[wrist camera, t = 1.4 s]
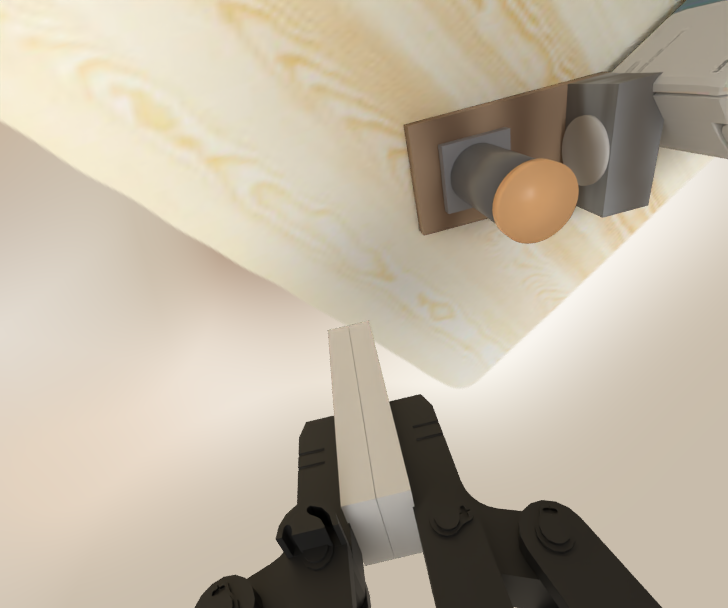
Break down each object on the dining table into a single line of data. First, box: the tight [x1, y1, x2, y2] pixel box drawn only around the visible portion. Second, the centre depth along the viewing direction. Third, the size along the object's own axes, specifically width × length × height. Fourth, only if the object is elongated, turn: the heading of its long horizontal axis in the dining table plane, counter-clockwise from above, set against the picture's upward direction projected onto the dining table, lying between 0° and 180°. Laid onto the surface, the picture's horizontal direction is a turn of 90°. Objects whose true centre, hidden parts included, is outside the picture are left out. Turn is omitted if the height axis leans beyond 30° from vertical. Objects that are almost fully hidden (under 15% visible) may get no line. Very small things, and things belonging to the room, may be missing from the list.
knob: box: [438, 127, 579, 243], centre depth 29 cm, size 6×6×11 cm
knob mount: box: [404, 72, 664, 235], centre depth 32 cm, size 18×10×8 cm, turn 103°
